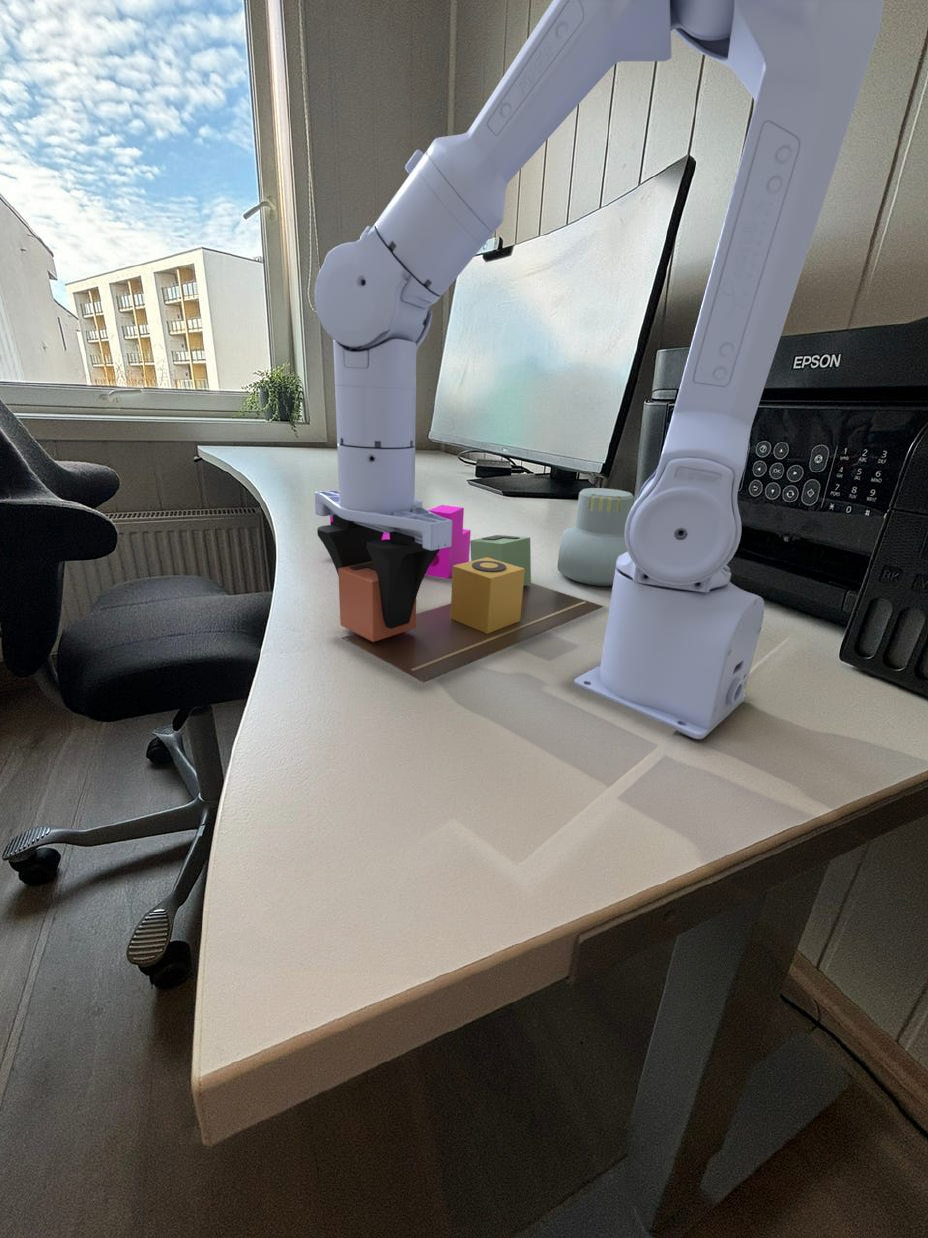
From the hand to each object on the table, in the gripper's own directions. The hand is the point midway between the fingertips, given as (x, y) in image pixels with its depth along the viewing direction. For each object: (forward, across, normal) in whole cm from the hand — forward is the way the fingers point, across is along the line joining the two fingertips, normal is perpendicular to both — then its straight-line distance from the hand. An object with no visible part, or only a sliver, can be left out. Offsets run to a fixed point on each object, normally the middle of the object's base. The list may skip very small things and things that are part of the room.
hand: (378, 615), depth 47 cm
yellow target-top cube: (+2, -4, -9) cm, 10 cm away
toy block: (+2, +15, -15) cm, 21 cm away
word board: (+2, -4, -9) cm, 10 cm away
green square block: (+2, +2, -18) cm, 18 cm away
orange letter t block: (+1, 0, 0) cm, 1 cm away
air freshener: (+2, -3, -29) cm, 29 cm away
